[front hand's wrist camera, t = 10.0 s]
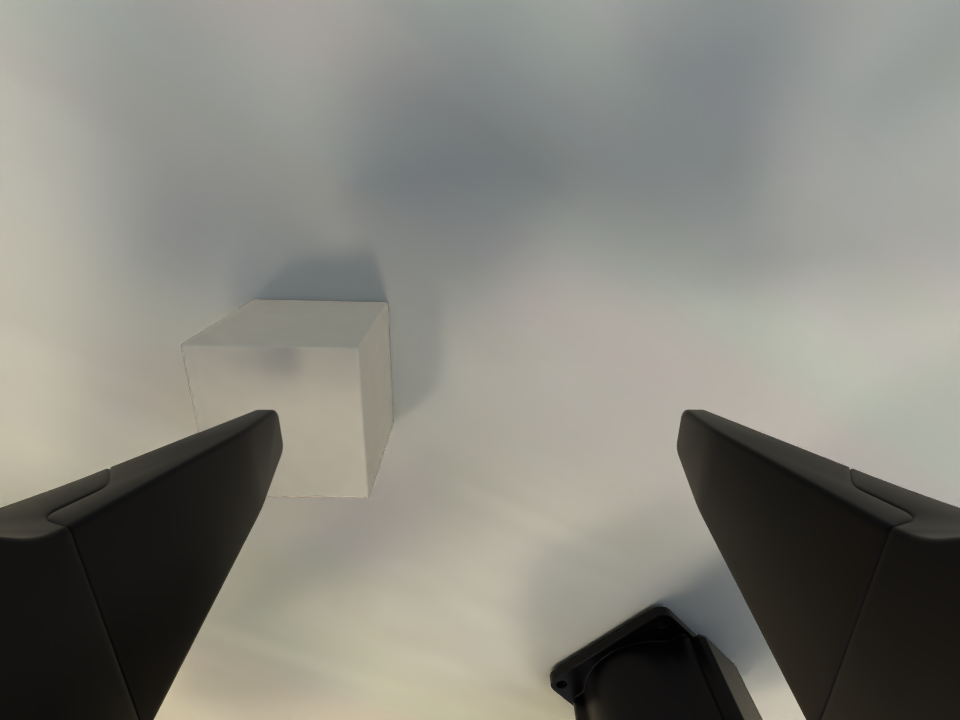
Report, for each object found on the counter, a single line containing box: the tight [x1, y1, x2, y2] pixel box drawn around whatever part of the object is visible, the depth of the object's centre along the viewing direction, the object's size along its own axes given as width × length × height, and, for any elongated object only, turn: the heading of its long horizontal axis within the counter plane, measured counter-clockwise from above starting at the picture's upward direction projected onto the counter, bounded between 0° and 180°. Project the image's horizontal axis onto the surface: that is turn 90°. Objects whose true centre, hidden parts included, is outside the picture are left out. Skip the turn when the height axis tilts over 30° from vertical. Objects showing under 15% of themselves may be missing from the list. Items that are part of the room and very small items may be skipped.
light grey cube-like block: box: [181, 299, 393, 498], centre depth 16 cm, size 4×5×4 cm
